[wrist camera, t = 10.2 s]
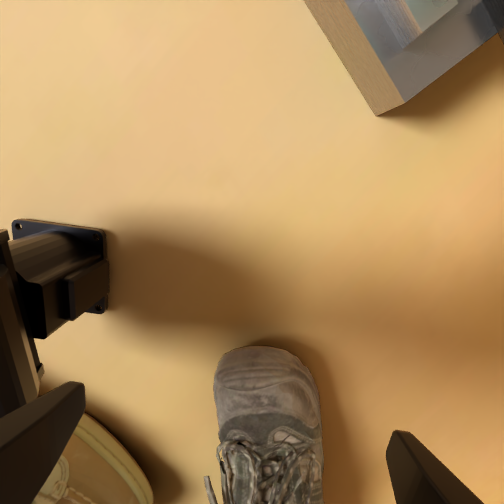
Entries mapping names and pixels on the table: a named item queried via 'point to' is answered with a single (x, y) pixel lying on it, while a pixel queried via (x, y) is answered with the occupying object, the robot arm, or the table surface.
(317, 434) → the hiking shoe
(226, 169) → the table surface
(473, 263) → the table surface
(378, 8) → the block
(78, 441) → the boat shoe
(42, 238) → the robot arm
